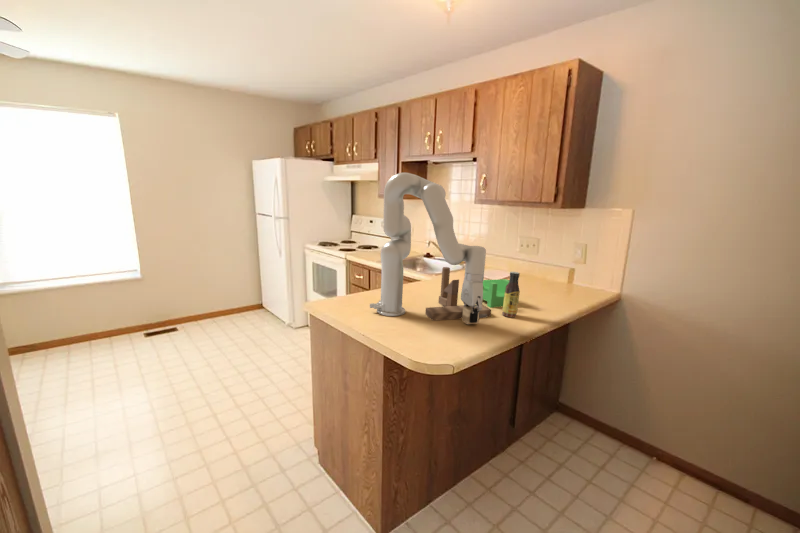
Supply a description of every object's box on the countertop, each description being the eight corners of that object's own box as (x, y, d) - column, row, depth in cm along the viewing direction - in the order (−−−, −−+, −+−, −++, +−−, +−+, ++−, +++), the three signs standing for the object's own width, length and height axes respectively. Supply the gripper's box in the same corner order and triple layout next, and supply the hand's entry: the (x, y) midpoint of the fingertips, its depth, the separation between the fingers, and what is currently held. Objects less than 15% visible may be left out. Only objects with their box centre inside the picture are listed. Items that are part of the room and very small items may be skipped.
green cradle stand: (512, 306, 175) (515, 282, 172) (490, 308, 169) (492, 284, 167) (482, 292, 196) (484, 271, 194) (462, 294, 191) (464, 272, 188)
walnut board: (432, 320, 148) (433, 313, 148) (425, 314, 156) (425, 307, 155) (490, 316, 157) (491, 309, 156) (481, 310, 164) (481, 303, 164)
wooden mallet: (450, 309, 163) (453, 271, 160) (438, 303, 173) (440, 267, 169) (457, 309, 165) (460, 271, 161) (444, 302, 174) (447, 266, 171)
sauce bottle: (508, 318, 155) (513, 274, 151) (498, 314, 160) (503, 271, 156) (519, 317, 158) (525, 273, 154) (509, 312, 163) (514, 270, 159)
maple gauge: (467, 324, 143) (468, 310, 142) (462, 320, 147) (463, 306, 146) (488, 322, 146) (490, 308, 145) (483, 318, 150) (484, 305, 149)
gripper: (456, 272, 149) (452, 313, 152) (476, 282, 133) (472, 328, 137) (471, 272, 151) (468, 312, 155) (493, 281, 135) (489, 326, 139)
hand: (470, 319), depth 146 cm, fingers closed on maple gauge, 4 cm apart
